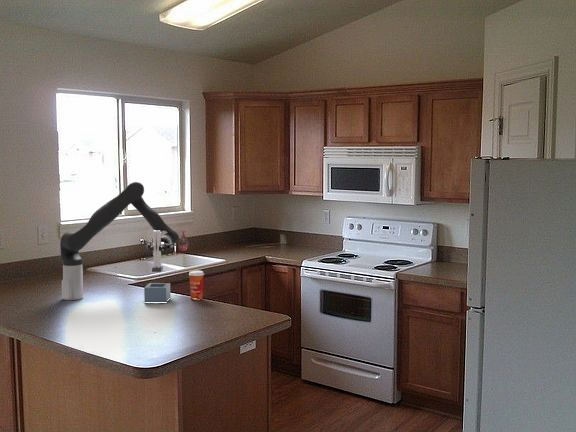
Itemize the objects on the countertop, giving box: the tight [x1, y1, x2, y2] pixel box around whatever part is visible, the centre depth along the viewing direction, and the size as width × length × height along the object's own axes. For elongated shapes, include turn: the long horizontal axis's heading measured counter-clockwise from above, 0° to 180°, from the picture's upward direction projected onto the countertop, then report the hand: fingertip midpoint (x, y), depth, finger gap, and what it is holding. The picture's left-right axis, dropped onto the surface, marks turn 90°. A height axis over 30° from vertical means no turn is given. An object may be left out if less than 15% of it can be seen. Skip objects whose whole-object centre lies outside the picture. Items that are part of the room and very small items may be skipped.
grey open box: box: [143, 282, 171, 303], centre depth 310 cm, size 11×11×8 cm
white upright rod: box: [151, 230, 164, 273], centre depth 308 cm, size 4×4×20 cm
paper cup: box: [188, 270, 205, 300], centre depth 315 cm, size 8×8×14 cm
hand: (155, 248), depth 305 cm, fingers closed on white upright rod, 3 cm apart
